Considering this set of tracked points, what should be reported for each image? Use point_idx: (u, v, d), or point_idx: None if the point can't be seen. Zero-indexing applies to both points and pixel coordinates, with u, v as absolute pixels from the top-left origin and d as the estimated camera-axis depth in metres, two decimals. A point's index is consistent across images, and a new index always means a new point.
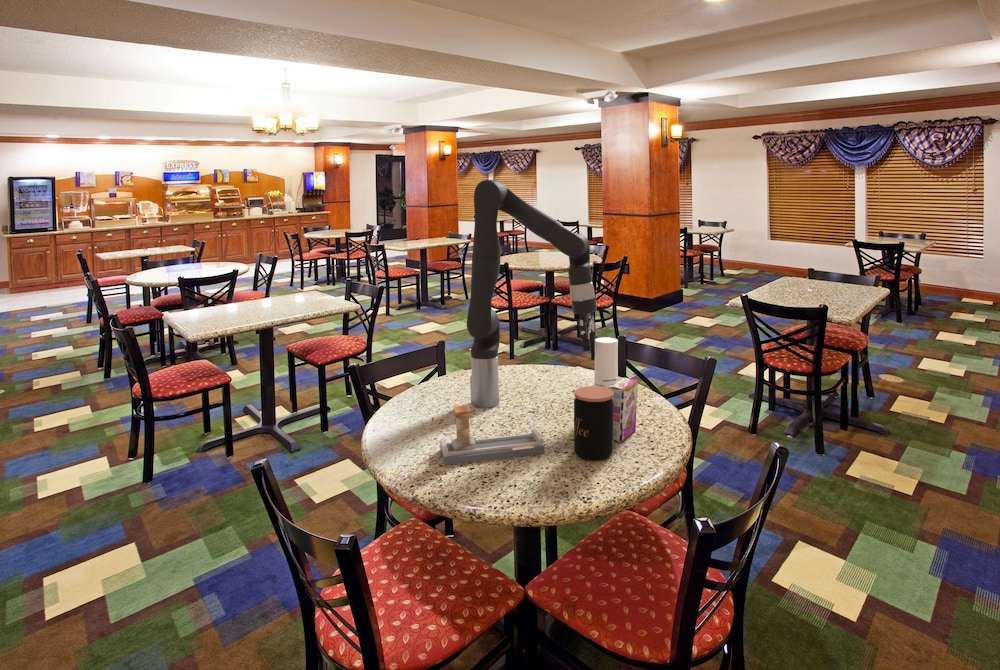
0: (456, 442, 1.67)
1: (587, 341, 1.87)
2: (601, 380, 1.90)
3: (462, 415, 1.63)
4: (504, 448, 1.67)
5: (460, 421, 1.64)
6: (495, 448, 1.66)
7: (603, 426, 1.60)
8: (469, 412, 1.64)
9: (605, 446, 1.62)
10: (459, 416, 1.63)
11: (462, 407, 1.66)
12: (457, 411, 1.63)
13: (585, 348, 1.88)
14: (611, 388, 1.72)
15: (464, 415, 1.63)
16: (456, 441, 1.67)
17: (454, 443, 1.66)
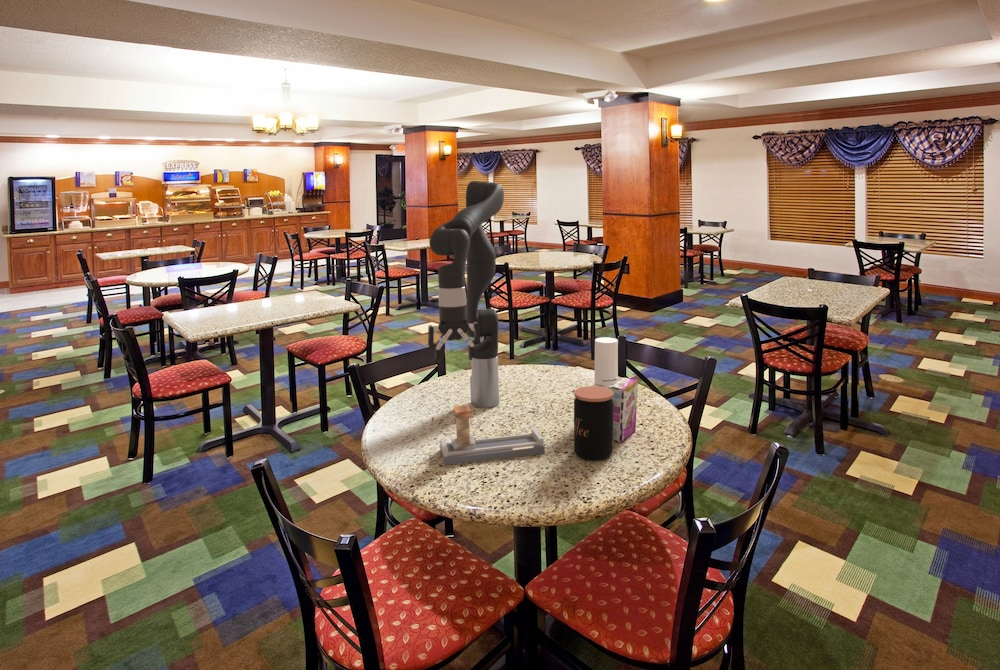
0: (456, 442, 1.67)
1: (436, 351, 1.65)
2: (601, 380, 1.90)
3: (462, 415, 1.63)
4: (504, 448, 1.67)
5: (460, 421, 1.64)
6: (495, 448, 1.66)
7: (603, 426, 1.60)
8: (469, 412, 1.64)
9: (605, 446, 1.62)
10: (459, 416, 1.63)
11: (462, 407, 1.66)
12: (457, 411, 1.63)
13: (436, 358, 1.66)
14: (611, 388, 1.72)
15: (464, 415, 1.63)
16: (456, 441, 1.67)
17: (454, 443, 1.66)
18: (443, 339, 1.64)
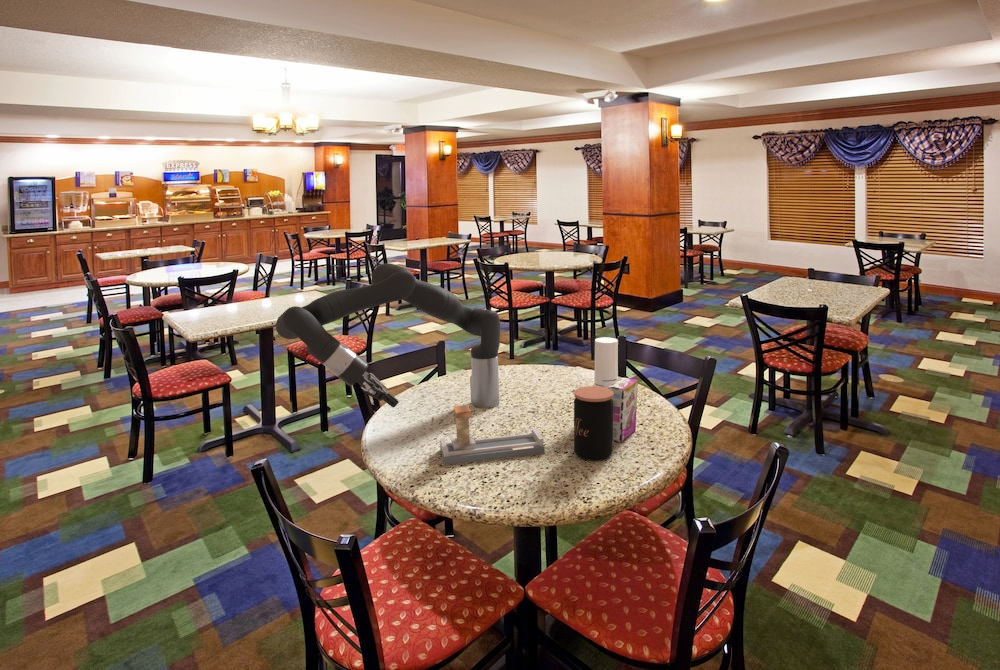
0: (456, 442, 1.67)
1: None
2: (601, 380, 1.90)
3: (462, 415, 1.63)
4: (504, 448, 1.67)
5: (460, 421, 1.64)
6: (495, 448, 1.66)
7: (603, 426, 1.60)
8: (469, 412, 1.64)
9: (605, 446, 1.62)
10: (459, 416, 1.63)
11: (462, 407, 1.66)
12: (457, 411, 1.63)
13: None
14: (611, 388, 1.72)
15: (464, 415, 1.63)
16: (456, 441, 1.67)
17: (454, 443, 1.66)
18: None
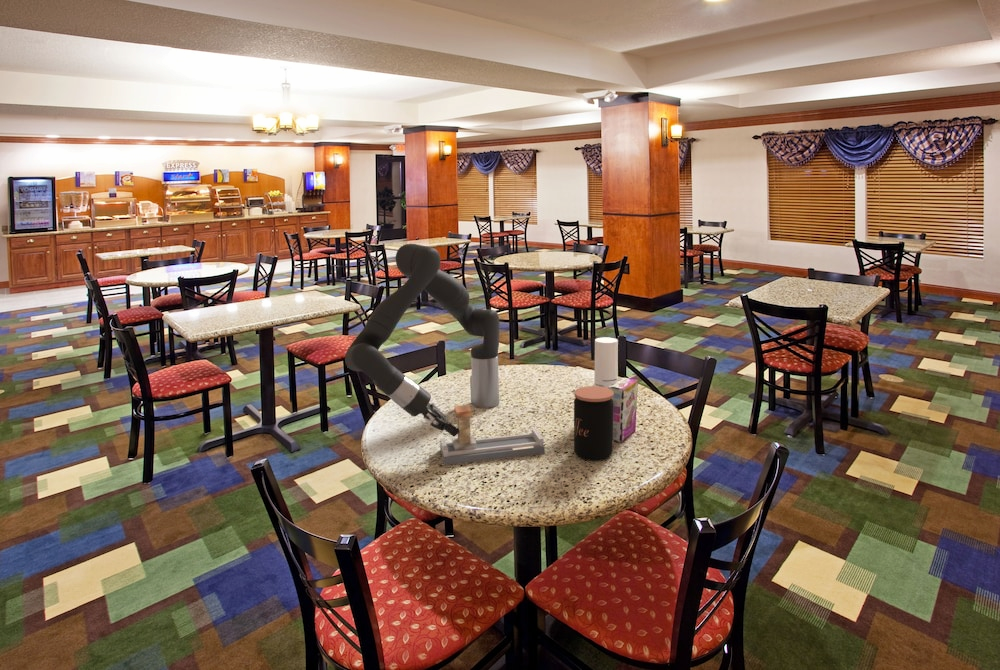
0: (457, 442, 1.67)
1: None
2: (601, 380, 1.90)
3: (463, 415, 1.63)
4: (504, 448, 1.67)
5: (461, 421, 1.64)
6: (495, 448, 1.66)
7: (603, 426, 1.60)
8: (470, 412, 1.64)
9: (605, 446, 1.62)
10: (460, 416, 1.63)
11: (463, 407, 1.66)
12: (458, 411, 1.64)
13: None
14: (611, 388, 1.72)
15: (465, 415, 1.63)
16: (457, 441, 1.67)
17: (455, 443, 1.66)
18: None
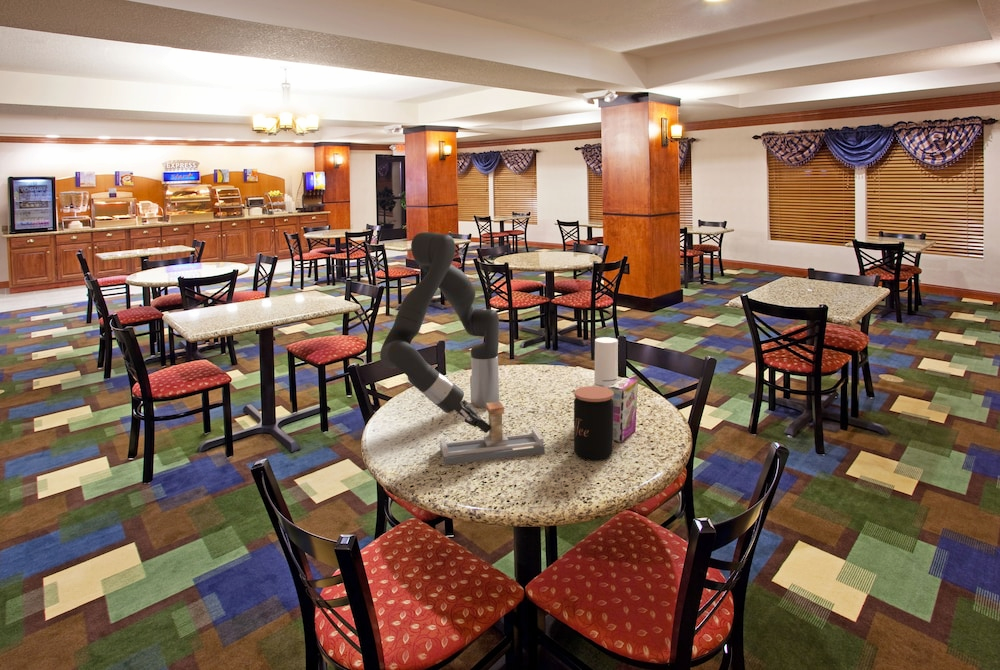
0: (489, 438, 1.69)
1: None
2: (601, 380, 1.90)
3: (495, 412, 1.65)
4: (504, 448, 1.67)
5: (493, 417, 1.66)
6: (495, 448, 1.66)
7: (603, 426, 1.60)
8: (502, 409, 1.65)
9: (605, 446, 1.62)
10: (492, 413, 1.65)
11: (495, 404, 1.68)
12: (490, 408, 1.65)
13: None
14: (611, 388, 1.72)
15: (497, 412, 1.65)
16: (489, 437, 1.69)
17: (487, 439, 1.68)
18: None
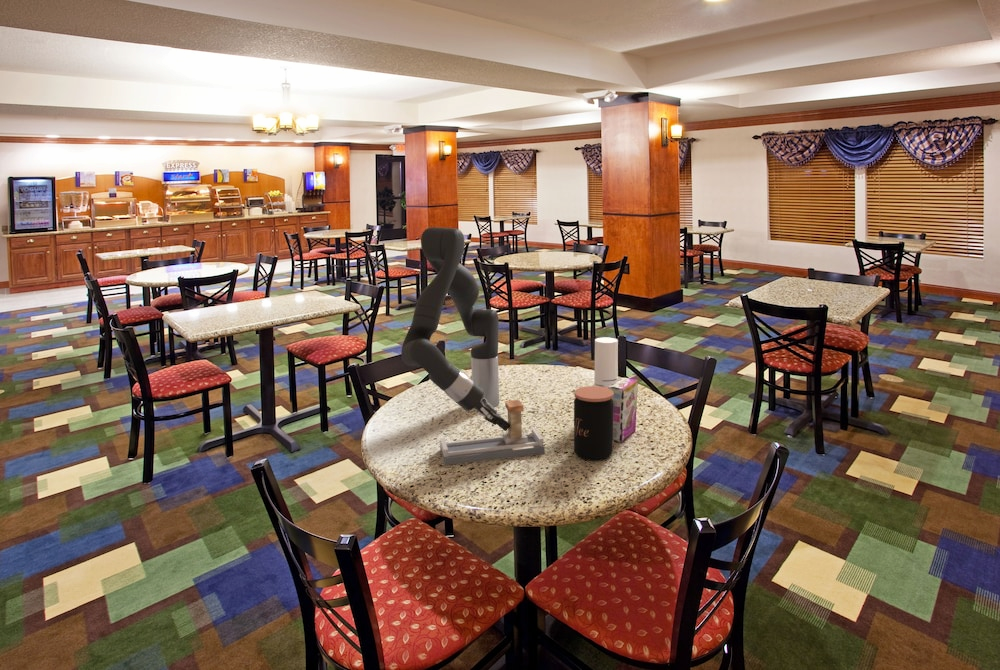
0: (508, 436, 1.70)
1: None
2: (601, 380, 1.90)
3: (515, 410, 1.66)
4: (504, 448, 1.67)
5: (513, 415, 1.67)
6: (495, 448, 1.66)
7: (603, 426, 1.60)
8: (522, 407, 1.67)
9: (605, 446, 1.62)
10: (512, 410, 1.66)
11: (514, 402, 1.69)
12: (510, 406, 1.67)
13: None
14: (611, 388, 1.72)
15: (517, 410, 1.66)
16: (508, 435, 1.70)
17: (506, 437, 1.69)
18: None
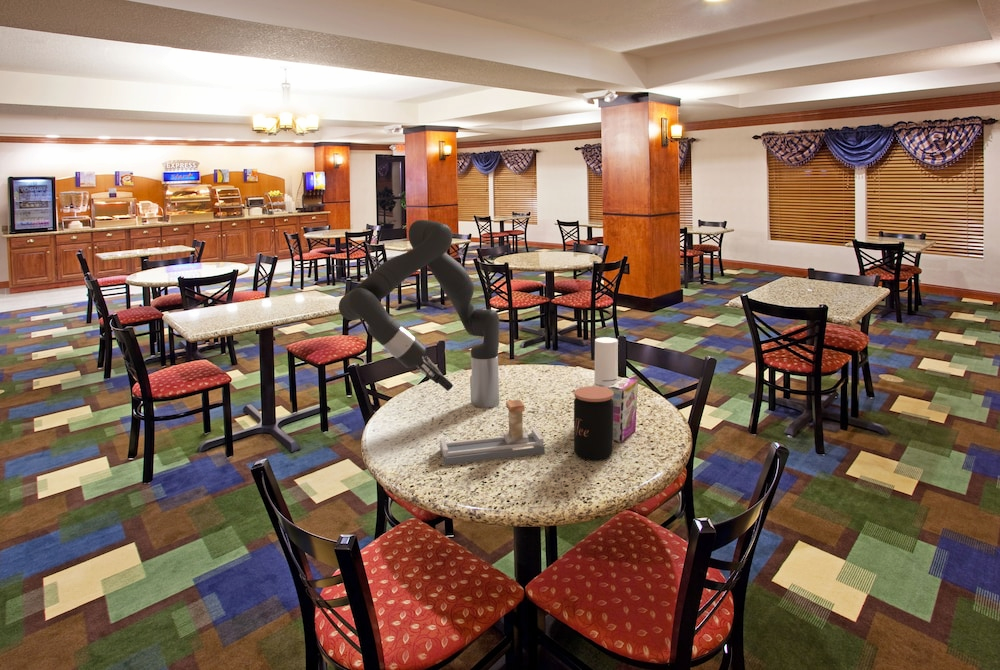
0: (509, 436, 1.70)
1: None
2: (601, 380, 1.90)
3: (516, 409, 1.66)
4: (504, 448, 1.67)
5: (514, 415, 1.67)
6: (495, 448, 1.66)
7: (603, 426, 1.60)
8: (523, 406, 1.67)
9: (605, 446, 1.62)
10: (513, 410, 1.66)
11: (515, 402, 1.69)
12: (511, 405, 1.67)
13: None
14: (611, 388, 1.72)
15: (518, 409, 1.67)
16: (509, 435, 1.71)
17: (507, 437, 1.69)
18: None
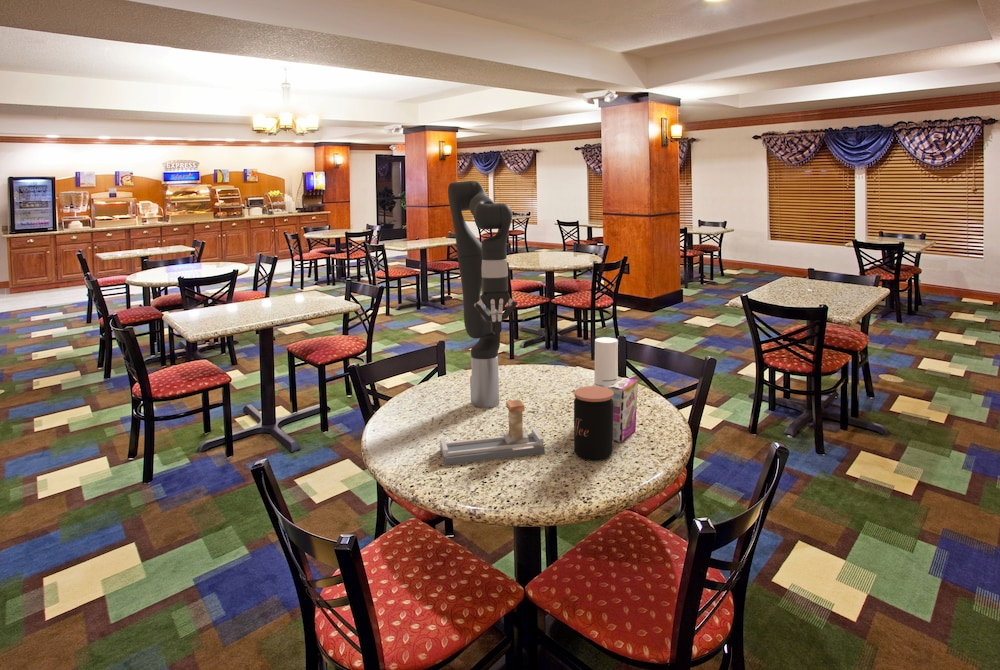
0: (509, 436, 1.70)
1: (492, 323, 1.75)
2: (601, 380, 1.90)
3: (516, 409, 1.66)
4: (504, 448, 1.67)
5: (514, 415, 1.67)
6: (495, 448, 1.66)
7: (603, 426, 1.60)
8: (523, 406, 1.67)
9: (605, 446, 1.62)
10: (513, 410, 1.66)
11: (515, 402, 1.69)
12: (511, 405, 1.67)
13: (491, 330, 1.77)
14: (611, 388, 1.72)
15: (518, 409, 1.67)
16: (509, 435, 1.71)
17: (507, 437, 1.69)
18: (492, 311, 1.73)
